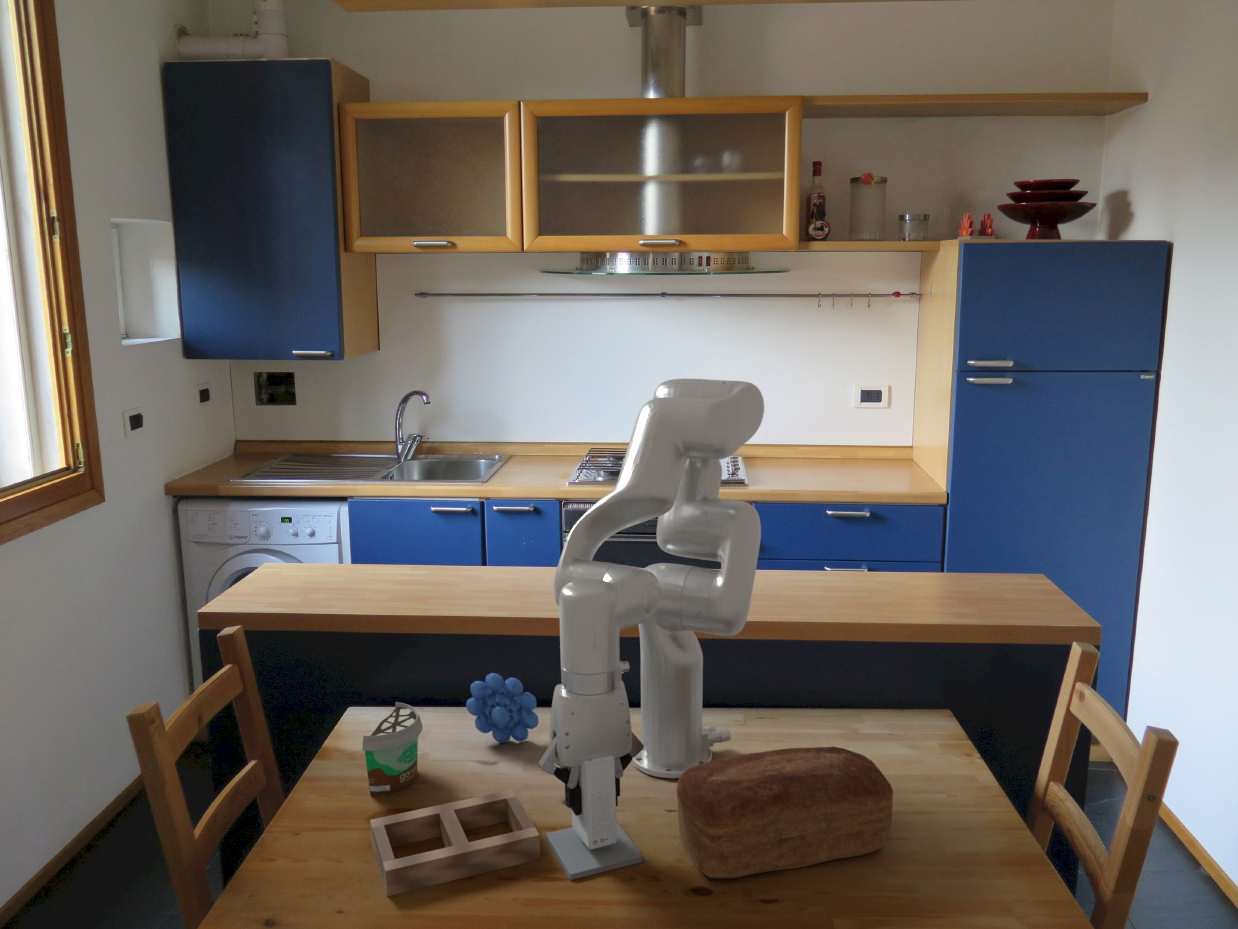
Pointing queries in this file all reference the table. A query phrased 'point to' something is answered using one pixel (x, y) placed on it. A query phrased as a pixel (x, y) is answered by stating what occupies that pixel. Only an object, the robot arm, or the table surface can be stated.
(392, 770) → the food container
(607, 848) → the mat
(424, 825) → the board
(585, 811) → the skincare box
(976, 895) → the table surface
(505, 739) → the blue knobbed wheel
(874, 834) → the bread
